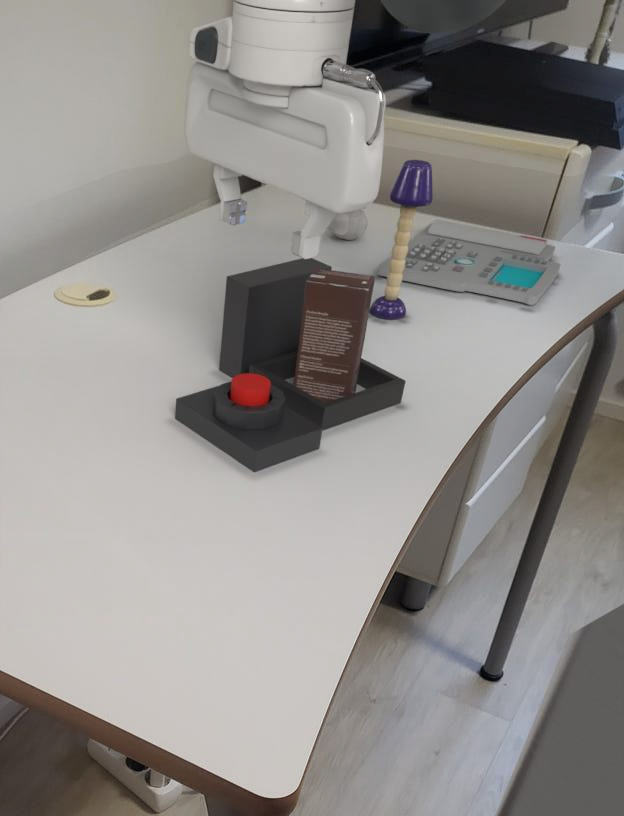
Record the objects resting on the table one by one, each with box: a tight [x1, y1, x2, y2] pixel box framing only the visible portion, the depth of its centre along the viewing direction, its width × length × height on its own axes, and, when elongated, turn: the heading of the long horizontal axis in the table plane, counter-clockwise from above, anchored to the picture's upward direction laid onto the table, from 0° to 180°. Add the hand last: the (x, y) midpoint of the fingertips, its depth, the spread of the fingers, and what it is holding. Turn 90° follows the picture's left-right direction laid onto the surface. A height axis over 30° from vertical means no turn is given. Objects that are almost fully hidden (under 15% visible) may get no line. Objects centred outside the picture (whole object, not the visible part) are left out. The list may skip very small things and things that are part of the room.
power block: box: [174, 380, 323, 473], centre depth 91 cm, size 12×8×4 cm, turn 35°
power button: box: [230, 373, 271, 406], centre depth 90 cm, size 4×4×2 cm
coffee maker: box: [218, 257, 406, 432], centre depth 97 cm, size 16×11×10 cm
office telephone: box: [376, 219, 561, 306], centre depth 129 cm, size 23×3×20 cm
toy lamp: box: [369, 159, 434, 320], centre depth 111 cm, size 5×5×17 cm
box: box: [292, 268, 376, 403], centre depth 95 cm, size 6×4×12 cm
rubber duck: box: [327, 209, 369, 241], centre depth 134 cm, size 5×7×8 cm
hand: (266, 238), depth 82 cm, fingers open, 8 cm apart
